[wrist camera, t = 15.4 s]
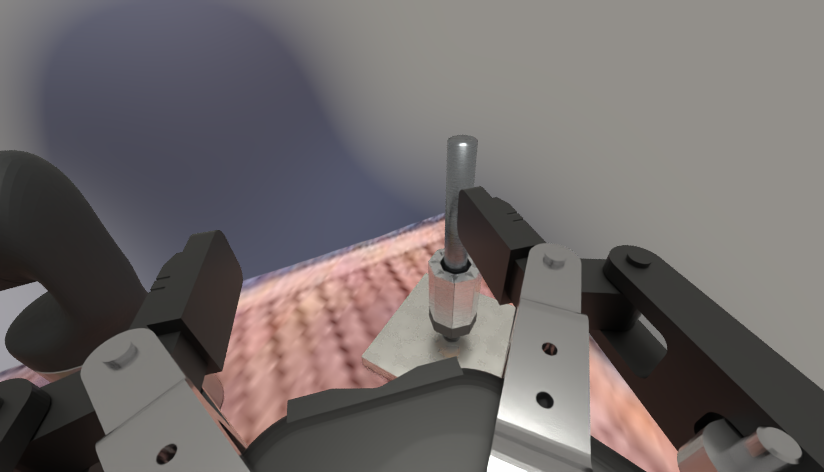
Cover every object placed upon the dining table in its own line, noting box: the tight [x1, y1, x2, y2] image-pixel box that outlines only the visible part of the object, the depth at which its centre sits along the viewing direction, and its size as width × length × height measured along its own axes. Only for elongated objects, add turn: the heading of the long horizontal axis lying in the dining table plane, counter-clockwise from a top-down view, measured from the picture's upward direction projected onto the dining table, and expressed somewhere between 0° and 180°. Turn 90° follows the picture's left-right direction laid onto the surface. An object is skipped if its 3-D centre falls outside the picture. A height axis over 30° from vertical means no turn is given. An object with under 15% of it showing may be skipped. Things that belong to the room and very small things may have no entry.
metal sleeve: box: [428, 248, 482, 329], centre depth 39 cm, size 6×6×8 cm
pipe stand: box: [362, 135, 515, 381], centre depth 37 cm, size 18×18×30 cm
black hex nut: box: [429, 308, 477, 338], centre depth 42 cm, size 6×6×2 cm
